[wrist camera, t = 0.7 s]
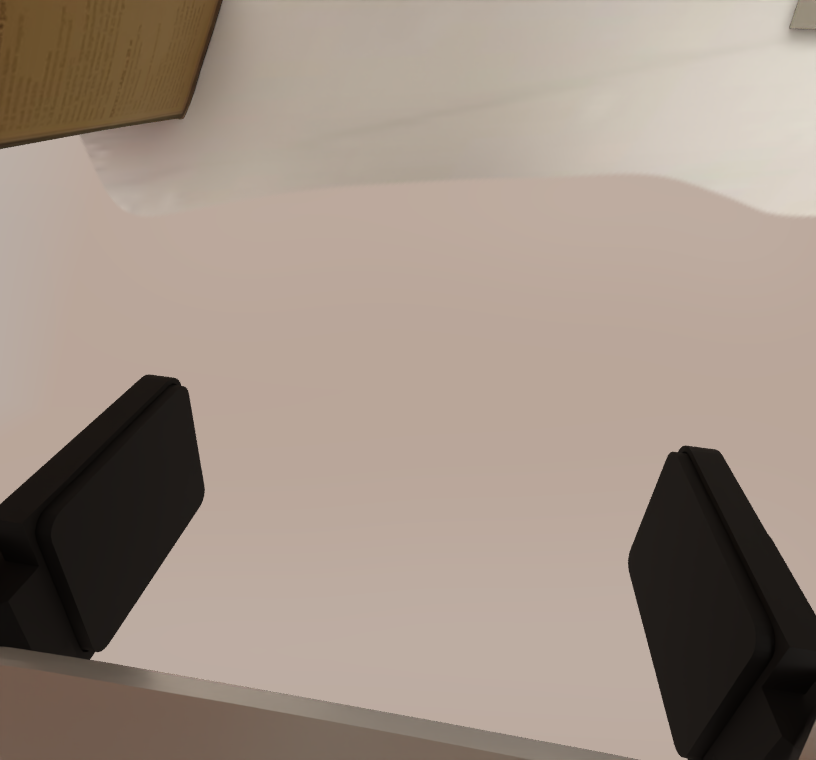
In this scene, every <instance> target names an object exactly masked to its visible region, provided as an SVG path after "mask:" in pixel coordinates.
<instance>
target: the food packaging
mask: <svg viewBox="0 0 816 760" xmlns="http://www.w3.org/2000/svg"><path fill="white" fill-rule="evenodd" d="M221 3H222V0H0V149H3V148H8V147H14V146H19V145H25V144H30V143H36V142H41V141H46V140H52V139H57V138H63V137H68V136H74V135H79V134H85V133H90V132H96V131H102V130H108V129H113V128H119V127H125V126H131V125H138V124H144V123H151V122H157V121H163V120H170V119H183V118H184V116H185V114H186V112H187V109H188V107H189V104H190V101H191V99H192V96H193V93H194V90H195V86H196V83H197V79H198V76H199V73H200V69H201V66H202V63H203V60H204V57H205V53H206V50H207V47H208V44H209V41H210V38H211V35H212V32H213V29H214V25H215V22H216V19H217V16H218V12H219V9H220V6H221Z"/></svg>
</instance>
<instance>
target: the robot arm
mask: <svg viewBox="0 0 816 760" xmlns="http://www.w3.org/2000/svg"><path fill="white" fill-rule="evenodd" d="M204 491H205V489H204V482H203V475H202V470H201V464H200V458H199V452H198V446H197V440H196V434H195V428H194V422H193V416H192V410H191V404H190V398H189V393H188V390H187V388H186V387H184V386H181V384H180V382H179V380H178V379H176V378H172V377H164V376H156V375H145V376H143V377H142V378H141V379H140V380H139V381H137V382H136V383H135V384H134V385H133V386H132V387H131V388H130V389H128V390H127V391H126V392H125V393H124V394H123V395H122V396H121V397H120V398H118V399H117V400H116V401H115V402H114V403H113V404H112V405H111V406H109V408H107V409H106V410H105V411H104V412H103V413H102V414H101V415H99V416H98V417H97V418H96V419H95V420H94V421H93V422H92V423H90V424H89V425H88V426H87V427H86V428H85V429H84V430H83V431H82V432H80V433H79V434H78V435H77V436H76V437H75V438H74V439H73V440H71V441H70V442H69V443H68V444H67V445H66V446H65V447H64V448H63V449H62V450H60V451H59V452H58V453H57V454H56V455H55V456H54V457H52V458H51V459H50V460H49V461H48V462H47V463H46V464H45V465H44V466H42V467H41V468H40V469H39V470H38V471H37V472H36V473H35V474H33V475H32V476H31V477H30V478H29V479H28V480H27V481H26V482H25V483H23V484H22V485H21V486H20V487H19V488H18V489H17V490H16V491H14V492H13V493H12V494H11V495H10V496H9V497H8V498H7V499H6V500H5V501H3V502H2V503H1V504H0V760H637V759H633V758H628V757H623V756H618V755H613V754H608V753H603V752H597V751H592V750H587V749H581V748H576V747H571V746H565V745H560V744H555V743H549V742H544V741H539V740H533V739H528V738H522V737H516V736H512V735H506V734H501V733H496V732H490V731H485V730H479V729H474V728H469V727H464V726H458V725H453V724H447V723H442V722H437V721H431V720H426V719H420V718H414V717H409V716H404V715H398V714H393V713H387V712H381V711H376V710H371V709H365V708H359V707H354V706H348V705H343V704H338V703H331V702H327V701H321V700H315V699H310V698H304V697H299V696H293V695H288V694H282V693H277V692H271V691H265V690H260V689H254V688H249V687H243V686H237V685H232V684H226V683H220V682H214V681H209V680H203V679H197V678H192V677H186V676H180V675H175V674H169V673H163V672H158V671H152V670H146V669H140V668H135V667H129V666H123V665H118V664H112V663H106V662H100V661H94V660H90V659H91V657H92V656H93V654H94V653H95V652H100V651H102V650H103V649H105V647H106V646H107V645H108V644H109V642H110V641H111V639H112V638H113V637H114V635H115V633H116V632H117V630H118V629H119V627H120V626H121V624H122V623H123V622H124V620H125V619H126V617H127V615H128V614H129V612H130V611H131V609H132V608H133V606H134V605H135V603H136V602H137V600H138V599H139V597H140V596H141V594H142V593H143V591H144V590H145V588H146V587H147V585H148V584H149V582H150V581H151V579H152V578H153V576H154V575H155V573H156V572H157V570H158V569H159V567H160V566H161V564H162V563H163V561H164V560H165V558H166V557H167V555H168V554H169V552H170V551H171V549H172V548H173V546H174V545H175V543H176V542H177V540H178V539H179V537H180V536H181V534H182V533H183V531H184V530H185V528H186V527H187V525H188V524H189V522H190V521H191V519H192V518H193V516H194V515H195V513H196V512H197V510H198V508H199V507H200V505H201V503H202V501H203V497H204ZM628 568H629V573H630V577H631V581H632V584H633V588H634V592H635V596H636V600H637V604H638V608H639V611H640V615H641V619H642V623H643V627H644V630H645V634H646V638H647V642H648V646H649V649H650V653H651V657H652V661H653V665H654V668H655V672H656V676H657V680H658V684H659V688H660V691H661V695H662V699H663V703H664V707H665V711H666V714H667V718H668V722H669V726H670V730H671V734H672V737H673V741H674V745H675V747H676V750H677V752H678V754H679V755H680V756H681V757H684V758H688V760H816V615H815V613H814V611H813V610H812V608H811V606H810V604H809V603H808V602H807V599H806V598H805V596H804V594H803V592H802V591H801V589H800V588H799V585H798V584H797V582H796V580H795V579H794V577H793V575H792V573H791V572H790V570H789V568H788V566H787V565H786V563H785V561H784V559H783V558H782V556H781V555H780V553H779V551H778V549H777V547H776V546H775V544H774V542H773V541H772V539H771V538H770V536H769V535H768V534H767V532H766V530H765V529H764V527H763V525H762V524H761V522H760V520H759V519H758V517H757V515H756V513H755V511H754V510H753V508H752V506H751V504H750V503H749V501H748V499H747V497H746V496H745V494H744V492H743V490H742V489H741V487H740V485H739V483H738V482H737V480H736V478H735V477H734V475H733V473H732V471H731V470H730V468H729V466H728V464H727V463H726V461H725V459H724V457H723V456H722V454H721V453H720V452H719V451H718V450H715V449H707V448H700V447H692V446H682V447H681V448H680V450H679V451H678V452H671V453H670V454H669V455H668V457H667V459H666V461H665V464H664V466H663V469H662V471H661V474H660V477H659V479H658V482H657V484H656V487H655V489H654V492H653V494H652V497H651V499H650V502H649V504H648V507H647V509H646V512H645V515H644V517H643V519H642V522H641V524H640V527H639V530H638V532H637V535H636V537H635V540H634V542H633V545H632V547H631V550H630V553H629V558H628Z"/></svg>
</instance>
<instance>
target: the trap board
mask: <svg viewBox="0 0 816 760" xmlns="http://www.w3.org/2000/svg"><path fill="white" fill-rule="evenodd" d="M790 28H796V29H816V0H799V1H798V4H797V7H796V10H795V13H794V16H793V19H792V22H791V25H790Z"/></svg>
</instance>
